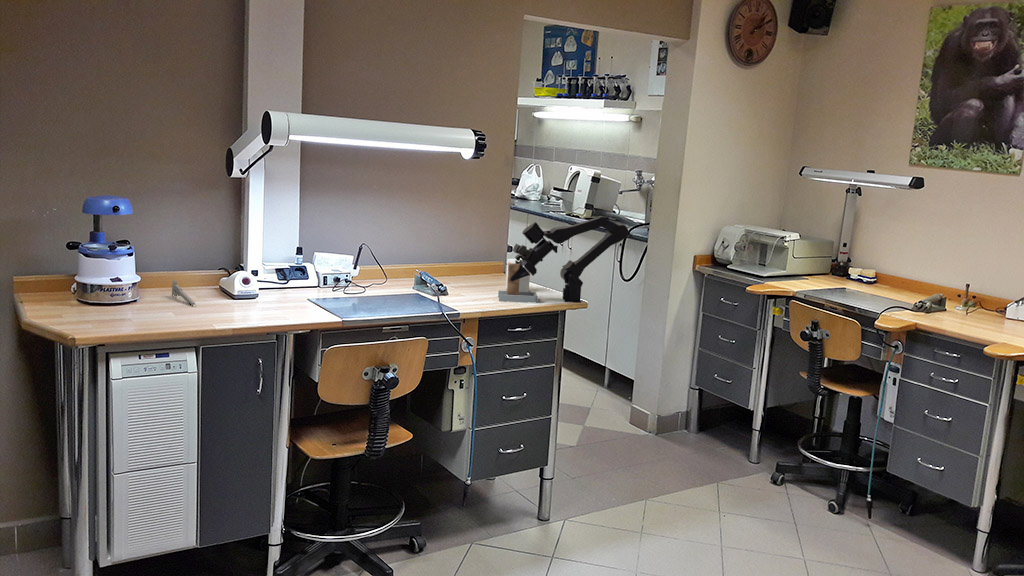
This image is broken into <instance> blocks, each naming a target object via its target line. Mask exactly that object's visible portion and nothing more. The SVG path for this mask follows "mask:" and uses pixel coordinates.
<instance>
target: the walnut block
mask: <svg viewBox="0 0 1024 576" xmlns="http://www.w3.org/2000/svg"><path fill="white" fill-rule="evenodd" d="M518 269H519V264H513V263H508V278H507V289H506V291H507V295H519V281H520V279H517V280H514V281H511V280H510V279H511V277H512V276H513V275H514V274H515V272H516V271H517V270H518Z"/></svg>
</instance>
